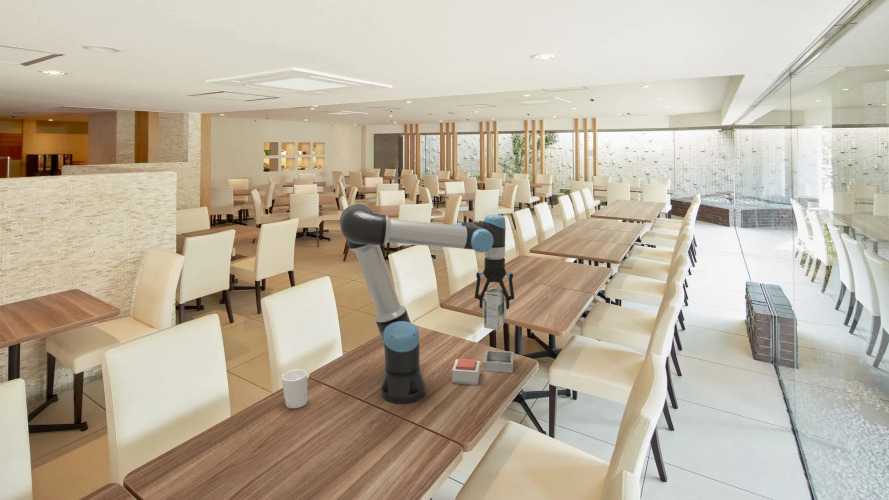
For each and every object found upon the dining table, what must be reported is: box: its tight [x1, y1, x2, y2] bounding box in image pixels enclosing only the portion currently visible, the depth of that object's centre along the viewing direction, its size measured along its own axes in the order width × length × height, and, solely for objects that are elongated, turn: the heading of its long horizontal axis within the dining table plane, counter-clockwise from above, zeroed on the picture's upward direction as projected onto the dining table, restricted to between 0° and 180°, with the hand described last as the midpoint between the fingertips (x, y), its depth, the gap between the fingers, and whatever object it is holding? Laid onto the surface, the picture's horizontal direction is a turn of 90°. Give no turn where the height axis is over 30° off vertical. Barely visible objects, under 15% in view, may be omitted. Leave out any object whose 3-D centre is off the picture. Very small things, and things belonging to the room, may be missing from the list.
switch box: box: [451, 358, 481, 386], centre depth 165 cm, size 9×9×5 cm
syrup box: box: [483, 287, 505, 331], centre depth 172 cm, size 6×6×14 cm
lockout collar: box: [482, 349, 515, 374], centre depth 174 cm, size 11×11×4 cm
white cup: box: [280, 369, 308, 409], centre depth 149 cm, size 8×8×10 cm
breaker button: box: [456, 358, 477, 371], centre depth 164 cm, size 6×6×5 cm
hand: (494, 316), depth 173 cm, fingers closed on syrup box, 7 cm apart
